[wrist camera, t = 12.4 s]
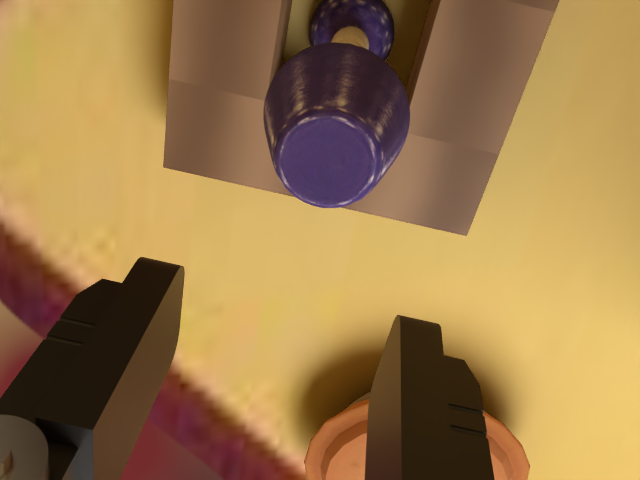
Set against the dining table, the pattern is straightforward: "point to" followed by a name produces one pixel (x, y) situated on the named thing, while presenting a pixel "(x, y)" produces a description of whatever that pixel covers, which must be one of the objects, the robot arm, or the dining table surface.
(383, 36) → the toy lamp
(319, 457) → the pie
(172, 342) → the robot arm
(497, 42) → the socket block
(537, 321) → the dining table surface
